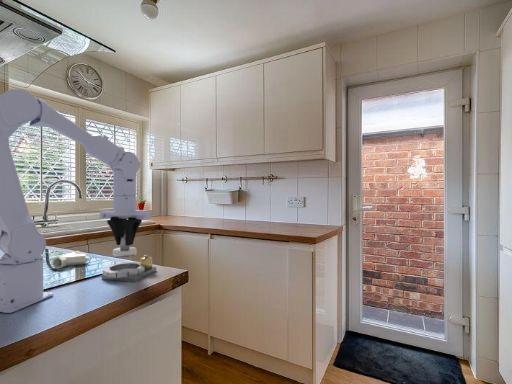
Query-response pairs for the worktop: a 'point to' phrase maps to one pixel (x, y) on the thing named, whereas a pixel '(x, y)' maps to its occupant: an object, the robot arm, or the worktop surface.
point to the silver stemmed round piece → (124, 249)
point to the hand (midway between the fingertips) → (124, 244)
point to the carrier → (129, 270)
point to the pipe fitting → (70, 260)
